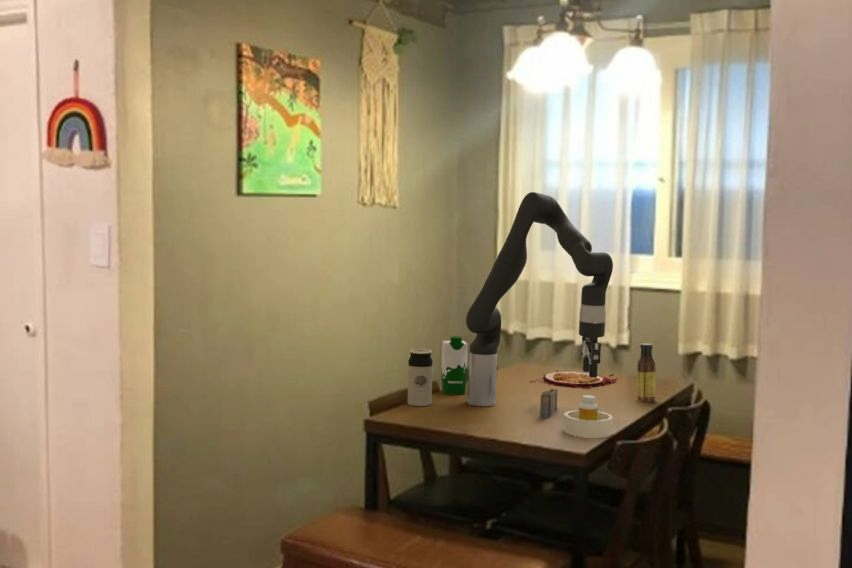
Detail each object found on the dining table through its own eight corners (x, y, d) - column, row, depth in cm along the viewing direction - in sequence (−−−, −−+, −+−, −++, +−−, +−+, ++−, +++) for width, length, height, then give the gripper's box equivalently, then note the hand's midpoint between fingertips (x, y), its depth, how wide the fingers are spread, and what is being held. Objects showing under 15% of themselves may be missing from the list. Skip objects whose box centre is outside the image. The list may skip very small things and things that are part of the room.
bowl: (569, 437, 269) (569, 420, 269) (559, 426, 283) (560, 409, 283) (617, 438, 270) (617, 421, 270) (605, 426, 284) (605, 410, 284)
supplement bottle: (596, 431, 273) (598, 398, 273) (578, 430, 274) (579, 397, 274) (596, 427, 279) (598, 395, 278) (578, 426, 280) (579, 394, 279)
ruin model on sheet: (549, 419, 293) (550, 389, 292) (540, 418, 294) (541, 388, 293) (558, 412, 304) (559, 383, 303) (548, 411, 305) (549, 382, 304)
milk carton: (443, 395, 324) (444, 338, 323) (439, 389, 333) (440, 334, 332) (468, 394, 326) (469, 338, 324) (463, 389, 335) (465, 334, 333)
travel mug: (410, 401, 314) (411, 348, 312) (433, 402, 312) (434, 349, 311) (405, 406, 306) (406, 351, 304) (429, 407, 304) (430, 353, 303)
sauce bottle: (656, 400, 325) (659, 343, 323) (653, 403, 319) (655, 345, 317) (637, 397, 327) (640, 342, 326) (634, 401, 322) (636, 344, 320)
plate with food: (557, 375, 371) (557, 366, 371) (617, 382, 357) (617, 373, 357) (528, 385, 352) (528, 376, 352) (591, 392, 337) (591, 383, 337)
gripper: (574, 316, 280) (572, 369, 282) (585, 323, 266) (582, 378, 268) (599, 317, 281) (596, 370, 282) (610, 323, 267) (608, 379, 268)
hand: (589, 374), depth 275 cm, fingers open, 8 cm apart
